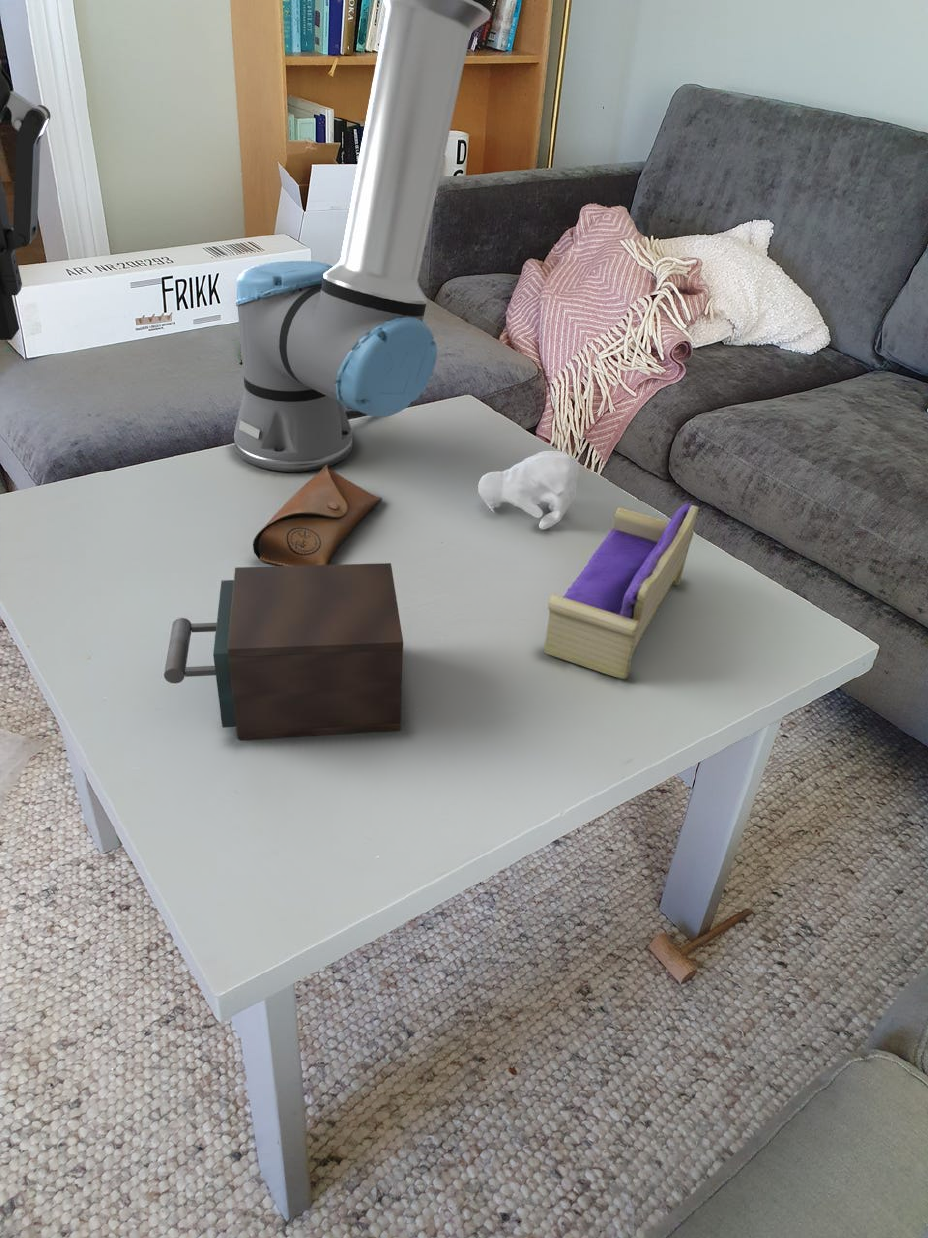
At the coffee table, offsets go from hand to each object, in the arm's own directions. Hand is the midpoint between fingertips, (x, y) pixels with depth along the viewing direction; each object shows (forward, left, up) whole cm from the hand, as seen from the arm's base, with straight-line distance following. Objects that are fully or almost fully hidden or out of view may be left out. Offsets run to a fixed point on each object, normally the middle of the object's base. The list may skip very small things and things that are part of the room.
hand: (5, 333), depth 75 cm
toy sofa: (-44, +33, -27) cm, 61 cm away
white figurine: (-50, +12, -27) cm, 58 cm away
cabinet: (-13, +26, -26) cm, 39 cm away
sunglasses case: (-28, +2, -27) cm, 39 cm away
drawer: (-10, +24, -26) cm, 36 cm away
